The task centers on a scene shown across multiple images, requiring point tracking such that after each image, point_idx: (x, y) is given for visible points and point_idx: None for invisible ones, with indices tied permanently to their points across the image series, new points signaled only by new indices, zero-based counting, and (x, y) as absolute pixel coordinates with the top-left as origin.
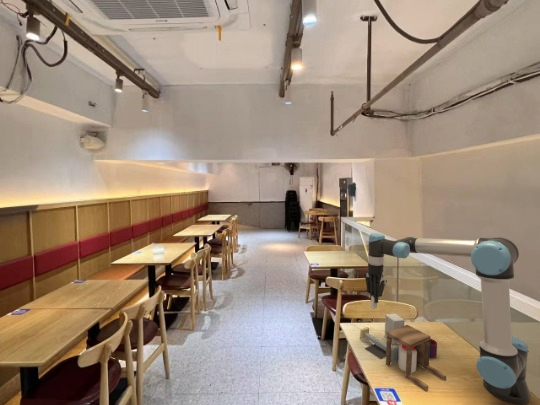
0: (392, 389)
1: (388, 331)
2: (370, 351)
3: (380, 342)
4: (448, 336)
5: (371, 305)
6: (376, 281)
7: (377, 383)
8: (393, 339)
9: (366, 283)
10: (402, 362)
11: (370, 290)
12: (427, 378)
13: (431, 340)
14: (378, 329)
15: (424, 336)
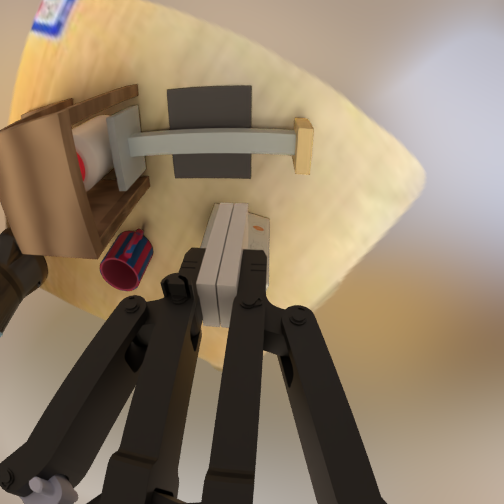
0: (56, 31)
1: None
2: (220, 87)
3: (203, 140)
4: None
5: (239, 216)
6: (111, 498)
7: (87, 2)
8: (212, 214)
9: (345, 423)
10: (85, 122)
11: (253, 344)
12: None
13: (129, 286)
14: (317, 241)
15: (19, 235)
